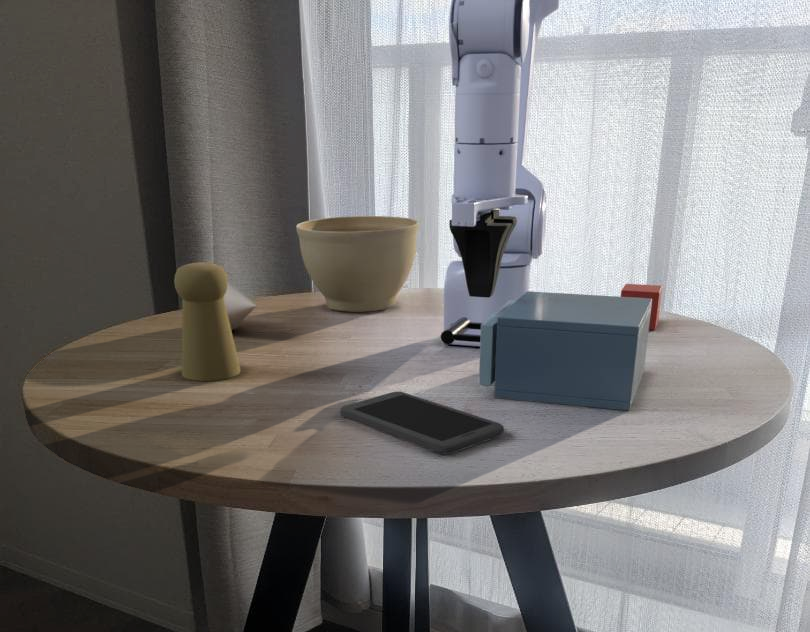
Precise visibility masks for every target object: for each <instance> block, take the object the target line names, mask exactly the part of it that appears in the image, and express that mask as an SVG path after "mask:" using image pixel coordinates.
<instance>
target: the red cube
mask: <svg viewBox="0 0 810 632" xmlns="http://www.w3.org/2000/svg"><path fill="white" fill-rule="evenodd" d="M662 295H663V285H657V284H637V283H625V284H624V286H623V287H622V289H621V290H620V297H634V298H651V299H652V306H651V315H650V323H649V331H656V328H657V326H658V324H659V317H660V310H661V303H662Z"/></svg>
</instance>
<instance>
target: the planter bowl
mask: <svg viewBox="0 0 810 632" xmlns="http://www.w3.org/2000/svg"><path fill="white" fill-rule="evenodd" d="M295 226H296V227H295V228H296V233H297V236H298V241H299V248H300V254H301V257H302V260H303V264H304V266H305V269H306V271H307V274H308V275H309V277H310V279H311V281H312V282H313V284H314V285H315V287H316V288H317V289H318V291H319V293H320V294H321V295H322V296H323V297H324V300H325V305H326V307H327V308H329V309H331V310H334V311H339V312H355V313H356V312H358V313H359V312H371V311H381V310H387V309H389V308H391V307H393V306H395V305H396V303H397V297H398V293H399V292H401V290H402V288H403V287H404V285H405V284H406V281H407V279H408V278H409V275H410V273H411V270H412V268H413V265H414V261H415V257H416V251H417V246H418V245H417V244H418V243H417V242H418V231H419V226H420V225H419V221H418V220H417V219H415V218H410V217H409V218H408V217H404V216H403V217H402V216H386V215H385V216H384V215H349V216H334V217H324V218H316V219H311V220H310V219H309V220H306V221H303V222H300V223H297V224H296V225H295Z"/></svg>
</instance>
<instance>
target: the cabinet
mask: <svg viewBox="0 0 810 632" xmlns="http://www.w3.org/2000/svg"><path fill="white" fill-rule="evenodd" d="M651 306H652V299H651V298H634V297H621V296H618V295H617V296H615V295H601V294H600V295H599V294H597V295H596V294H583V293H582V294H581V293H566V292H565V293H564V292H547V291H530V290H529V291H527V292H526V293H525V294H524V295H522V296H521V297H520V298H519V299H518V300H517V301H516V302H515V303H513V304H512V305H511V306H510V307H509V308H508V309H507V310H506V311H504V312H503V313H502V314H501V315H500V316H499V317H498V318H497V341H496V367H495V382H494V399H495V398H496V399H505V400H515V401H516V400H517V401H525V402H535V403H547V404H558V405H566V406H567V405H568V406H577V407H587V408H598V409H607V410H619V411H630V410H631V407H632V405H633V403H634V399H635V397H636V394H637V391H638V389H639V386H640V384H641V381H642V378H643V376H644V373H645V364H646V357H647V347H648V339H649V331H650V330H649V323H650V315H651Z"/></svg>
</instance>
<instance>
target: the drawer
mask: <svg viewBox="0 0 810 632" xmlns="http://www.w3.org/2000/svg"><path fill="white" fill-rule="evenodd" d="M515 302H516V301H513V300H509V301H508V302H507V303H506V304H504V305H503V306H502V307H501V308H500V309H499V310H497V311H496V312H495V313H494V314H493V315H492V316H490V317H489V318H488V319H487V320H486V321H485V322H483V323H477V322H470V321H469V319H468V318H466V317H462V318H460V319H459V320H457V321H456V322H455V323H454V324H452V325H451V326H450V327H448V328H447V329H446V330H445V331H444V330H443V331H441V333H440V341H441V343H442V342H443V343H445V344H444V345H452V344H451V343H453V342H454V341H455V340H456V341H469V342H480V347H479V369H478V385H479V386H485V387H491V386H492V385H494V384H495V367H496V341H497V318H498V317H499V316H500V315H501V314H502V313H503V312H504V311H506V310H507V309H508V308H509V307H510V306H511V305H512V304H513V303H515ZM468 329H477V330H481V334H480V335H473V334H463V333H465V332H466V331H467V330H468ZM443 343H442V344H443Z"/></svg>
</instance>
